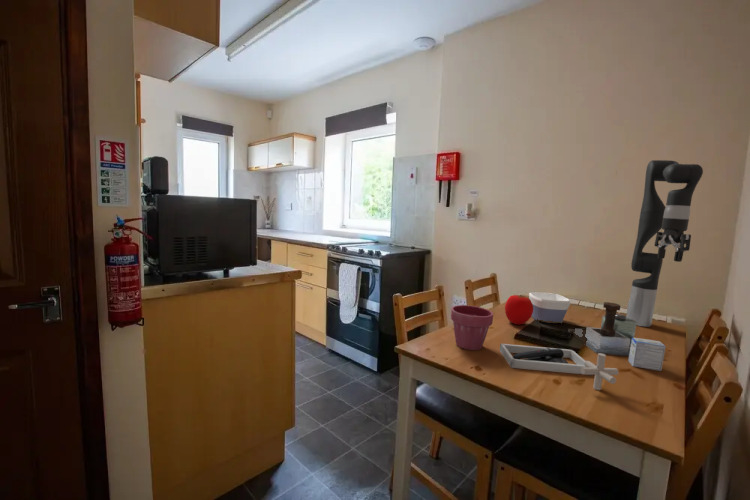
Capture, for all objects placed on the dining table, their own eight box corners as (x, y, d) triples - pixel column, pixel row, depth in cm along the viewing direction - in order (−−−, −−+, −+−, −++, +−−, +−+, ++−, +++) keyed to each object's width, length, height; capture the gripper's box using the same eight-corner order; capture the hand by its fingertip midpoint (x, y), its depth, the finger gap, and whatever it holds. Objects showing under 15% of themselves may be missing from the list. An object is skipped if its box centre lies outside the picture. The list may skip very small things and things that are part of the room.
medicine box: (655, 366, 115) (659, 341, 114) (661, 371, 111) (666, 345, 110) (627, 361, 118) (631, 336, 117) (632, 366, 114) (636, 341, 113)
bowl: (572, 326, 151) (575, 302, 150) (536, 324, 152) (539, 299, 150) (554, 315, 167) (557, 293, 165) (522, 313, 167) (525, 291, 165)
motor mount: (567, 331, 145) (570, 307, 144) (622, 335, 143) (626, 312, 142) (596, 353, 123) (600, 325, 122) (661, 358, 122) (666, 331, 120)
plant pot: (466, 335, 133) (469, 302, 132) (498, 348, 122) (502, 313, 120) (440, 341, 125) (443, 307, 123) (471, 356, 114) (475, 319, 112)
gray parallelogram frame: (499, 350, 120) (500, 343, 120) (571, 356, 119) (572, 349, 118) (511, 367, 107) (511, 359, 107) (591, 375, 106) (592, 367, 105)
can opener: (556, 361, 115) (559, 344, 114) (570, 371, 108) (573, 353, 107) (506, 360, 113) (507, 344, 112) (517, 370, 106) (519, 353, 105)
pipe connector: (568, 379, 102) (573, 346, 101) (600, 379, 103) (605, 347, 102) (592, 398, 92) (598, 362, 91) (627, 398, 93) (633, 363, 92)
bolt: (610, 341, 132) (615, 302, 130) (618, 346, 127) (624, 306, 125) (594, 339, 132) (599, 301, 130) (602, 345, 127) (608, 305, 125)
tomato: (497, 320, 154) (500, 292, 152) (515, 318, 159) (518, 290, 157) (517, 329, 144) (521, 299, 142) (536, 326, 149) (539, 297, 147)
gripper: (702, 219, 125) (694, 263, 127) (672, 217, 139) (665, 257, 141) (680, 217, 126) (672, 262, 128) (652, 216, 140) (645, 256, 142)
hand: (668, 259), depth 134 cm, fingers open, 8 cm apart
